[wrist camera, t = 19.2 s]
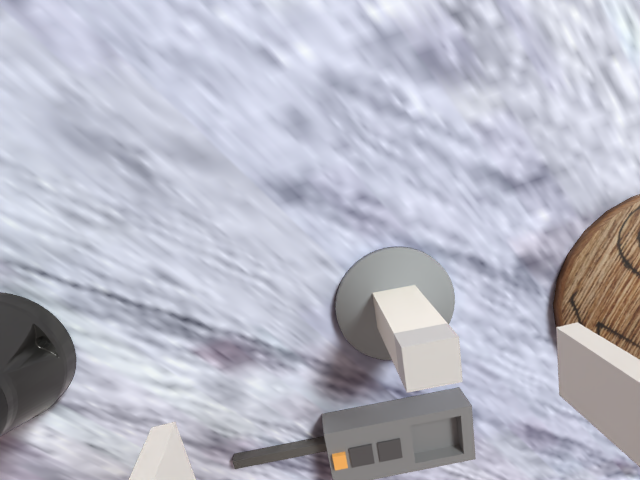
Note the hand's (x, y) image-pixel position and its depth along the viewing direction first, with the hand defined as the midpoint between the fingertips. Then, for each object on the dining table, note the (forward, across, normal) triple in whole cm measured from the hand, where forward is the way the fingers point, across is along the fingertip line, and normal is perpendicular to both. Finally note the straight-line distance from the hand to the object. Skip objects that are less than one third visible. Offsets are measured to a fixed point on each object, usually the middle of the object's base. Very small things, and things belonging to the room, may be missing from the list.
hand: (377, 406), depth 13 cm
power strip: (+31, 0, -29) cm, 42 cm away
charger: (+30, +8, -12) cm, 33 cm away
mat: (+31, +8, -12) cm, 34 cm away
